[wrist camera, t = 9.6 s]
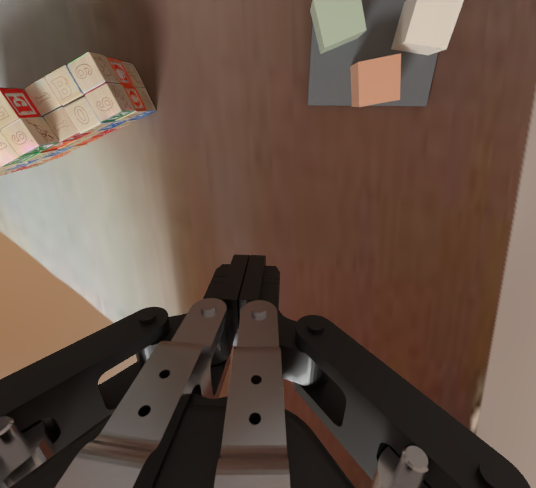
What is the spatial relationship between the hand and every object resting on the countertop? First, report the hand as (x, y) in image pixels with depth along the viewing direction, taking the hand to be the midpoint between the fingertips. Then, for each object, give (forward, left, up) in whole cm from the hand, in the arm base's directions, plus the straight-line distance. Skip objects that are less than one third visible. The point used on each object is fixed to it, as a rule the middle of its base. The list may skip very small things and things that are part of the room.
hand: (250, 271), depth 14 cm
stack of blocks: (-5, -28, -31) cm, 42 cm away
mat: (-12, +11, -31) cm, 35 cm away
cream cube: (-15, +16, -30) cm, 37 cm away
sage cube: (-16, +7, -30) cm, 35 cm away
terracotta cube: (-10, +12, -30) cm, 34 cm away
